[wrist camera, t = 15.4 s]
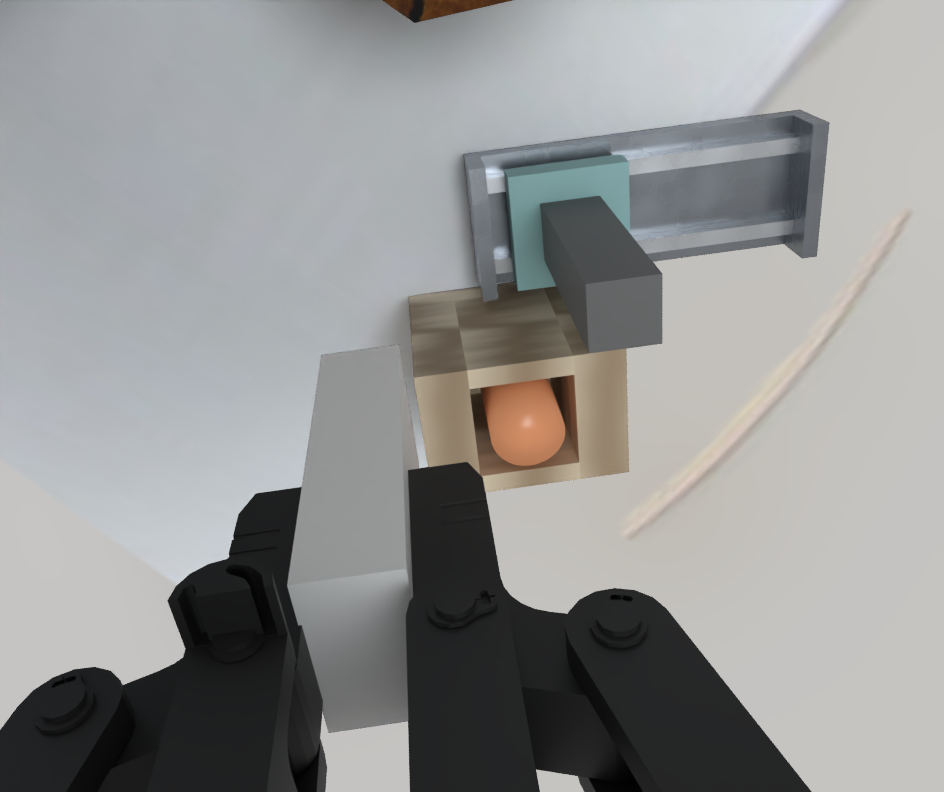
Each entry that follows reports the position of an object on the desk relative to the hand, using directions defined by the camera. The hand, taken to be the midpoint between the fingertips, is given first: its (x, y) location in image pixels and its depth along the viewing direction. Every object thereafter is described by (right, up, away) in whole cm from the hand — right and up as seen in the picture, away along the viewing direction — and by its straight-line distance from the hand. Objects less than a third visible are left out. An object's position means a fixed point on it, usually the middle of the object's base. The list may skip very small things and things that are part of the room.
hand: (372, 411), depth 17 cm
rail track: (+11, +11, +30) cm, 34 cm away
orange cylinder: (+4, +2, +31) cm, 31 cm away
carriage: (+7, +10, +28) cm, 30 cm away
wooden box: (+4, +4, +33) cm, 34 cm away
